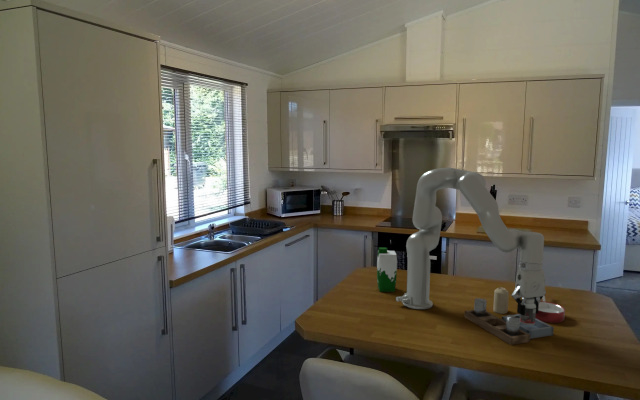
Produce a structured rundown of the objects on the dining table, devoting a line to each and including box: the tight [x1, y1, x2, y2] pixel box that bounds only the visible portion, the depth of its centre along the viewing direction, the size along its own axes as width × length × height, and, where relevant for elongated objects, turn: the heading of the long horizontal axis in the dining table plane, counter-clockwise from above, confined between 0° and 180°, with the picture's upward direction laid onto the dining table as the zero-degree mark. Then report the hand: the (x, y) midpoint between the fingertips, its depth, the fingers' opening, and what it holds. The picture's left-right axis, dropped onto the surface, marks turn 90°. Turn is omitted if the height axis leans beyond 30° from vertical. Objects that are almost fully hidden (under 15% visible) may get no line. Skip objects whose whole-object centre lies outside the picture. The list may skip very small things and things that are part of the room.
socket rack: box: [464, 309, 531, 346], centre depth 169 cm, size 8×26×2 cm, turn 18°
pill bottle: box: [520, 298, 536, 325], centre depth 168 cm, size 5×5×10 cm
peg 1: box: [473, 297, 487, 317], centre depth 177 cm, size 4×4×8 cm
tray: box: [501, 313, 555, 340], centre depth 169 cm, size 11×14×3 cm
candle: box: [492, 286, 510, 315], centre depth 186 cm, size 6×6×10 cm
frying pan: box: [535, 294, 566, 324], centre depth 190 cm, size 32×13×6 cm, turn 164°
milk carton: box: [376, 246, 398, 293], centre depth 212 cm, size 9×9×20 cm
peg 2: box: [506, 314, 520, 337], centre depth 160 cm, size 4×4×8 cm
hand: (527, 312), depth 168 cm, fingers closed on pill bottle, 5 cm apart
